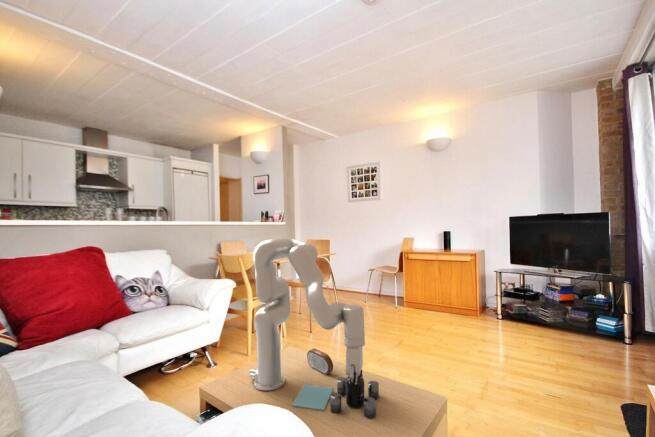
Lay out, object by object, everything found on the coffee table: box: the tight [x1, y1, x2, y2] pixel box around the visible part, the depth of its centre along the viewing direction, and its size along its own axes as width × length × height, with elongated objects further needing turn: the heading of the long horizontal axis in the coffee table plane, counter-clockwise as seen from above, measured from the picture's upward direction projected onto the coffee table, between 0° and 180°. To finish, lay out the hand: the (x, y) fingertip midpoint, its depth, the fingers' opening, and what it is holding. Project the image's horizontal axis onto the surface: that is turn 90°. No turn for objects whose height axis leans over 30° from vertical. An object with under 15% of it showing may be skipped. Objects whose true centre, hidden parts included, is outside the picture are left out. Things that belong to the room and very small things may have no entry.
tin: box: [306, 348, 334, 375], centre depth 137 cm, size 15×3×8 cm, turn 43°
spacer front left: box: [329, 392, 343, 415], centre depth 108 cm, size 4×4×5 cm
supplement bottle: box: [345, 370, 366, 409], centre depth 112 cm, size 7×7×12 cm
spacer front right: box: [363, 396, 377, 420], centre depth 105 cm, size 4×4×5 cm
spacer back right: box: [367, 380, 380, 401], centre depth 115 cm, size 4×4×5 cm
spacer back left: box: [336, 376, 347, 397], centre depth 119 cm, size 4×4×5 cm
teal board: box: [291, 384, 334, 412], centre depth 116 cm, size 12×14×1 cm
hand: (356, 387), depth 112 cm, fingers open, 9 cm apart
